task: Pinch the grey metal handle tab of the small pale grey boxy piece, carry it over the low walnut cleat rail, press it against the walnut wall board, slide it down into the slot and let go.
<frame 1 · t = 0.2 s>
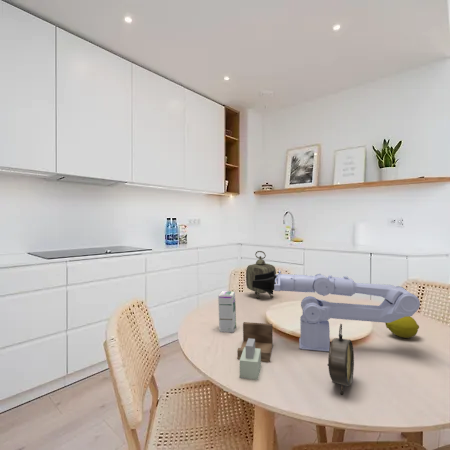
hand: (253, 280, 102), 22 cm above the table, tool horizontal, fingers open, 7 cm apart
alarm clock: (340, 385, 76), on the table
pale grey boxy piece: (250, 371, 84), on the table
cleat board: (257, 344, 100), on the table
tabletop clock: (260, 297, 156), on the table
lemon: (401, 337, 105), on the table
syrup box: (227, 329, 114), on the table
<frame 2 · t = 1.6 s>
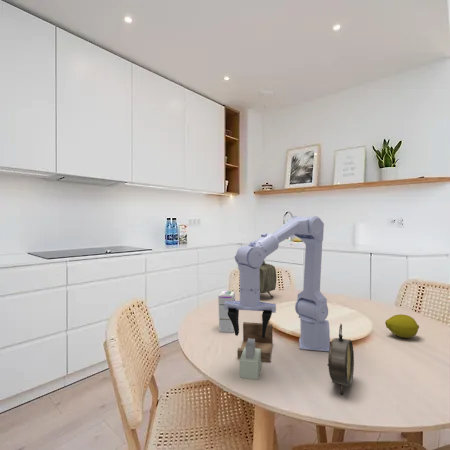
hand: (250, 335, 83), 10 cm above the table, tool pointing down, fingers open, 7 cm apart
nothing on the table moved.
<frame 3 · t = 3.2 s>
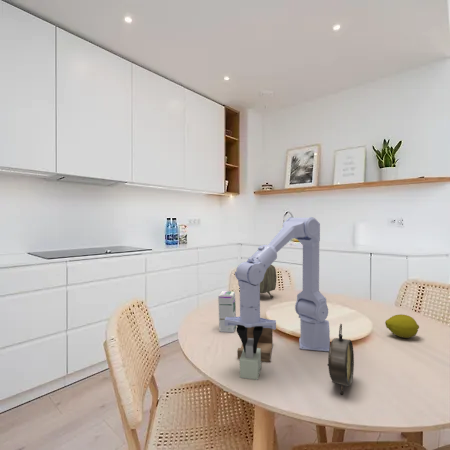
hand: (250, 351, 84), 6 cm above the table, tool pointing down, fingers closed on pale grey boxy piece
pale grey boxy piece: (250, 370, 84), on the table, touching gripper
everything else where it was.
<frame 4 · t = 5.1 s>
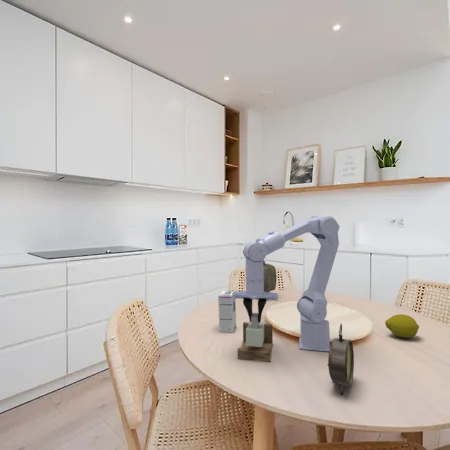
hand: (255, 321, 94), 10 cm above the table, tool pointing down, fingers closed on pale grey boxy piece
pale grey boxy piece: (255, 341, 94), point 4 cm above the table, touching gripper
everything else where it was.
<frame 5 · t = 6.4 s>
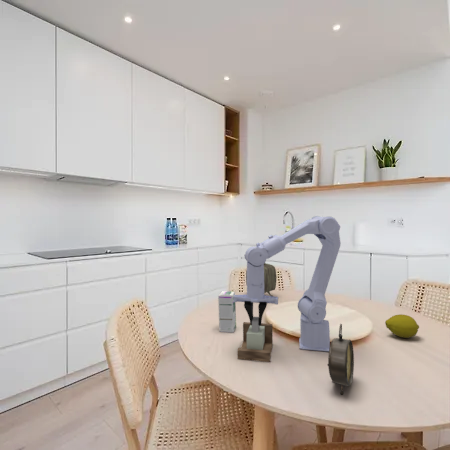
hand: (255, 324, 96), 9 cm above the table, tool pointing down, fingers closed on pale grey boxy piece
pale grey boxy piece: (256, 344, 96), point 2 cm above the table, touching gripper
everything else where it was.
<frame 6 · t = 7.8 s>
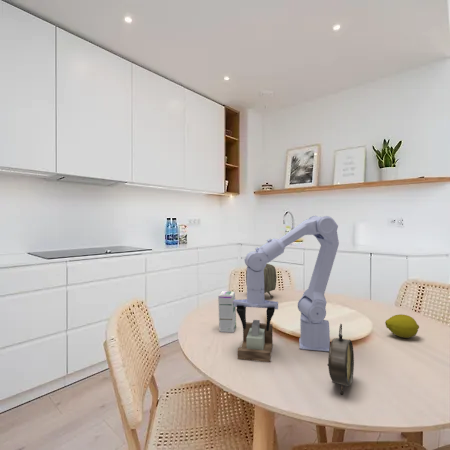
hand: (256, 328, 96), 7 cm above the table, tool pointing down, fingers open, 7 cm apart
pale grey boxy piece: (256, 348, 96), point 1 cm above the table, touching cleat board
everything else where it was.
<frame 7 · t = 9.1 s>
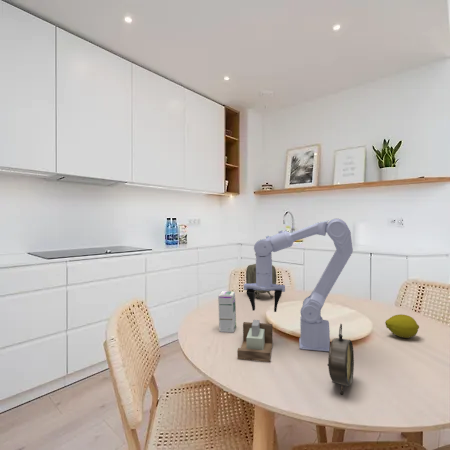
hand: (264, 310, 104), 10 cm above the table, tool pointing down, fingers open, 7 cm apart
nothing on the table moved.
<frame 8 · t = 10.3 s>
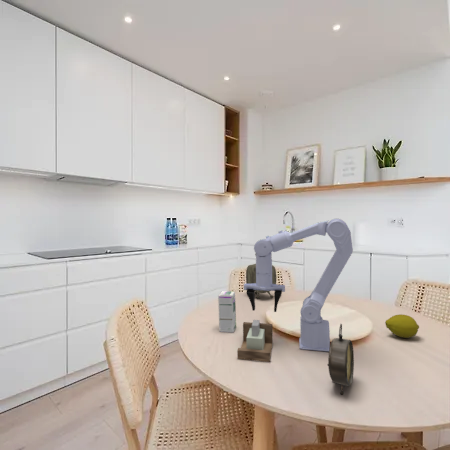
hand: (264, 310, 104), 10 cm above the table, tool pointing down, fingers open, 7 cm apart
nothing on the table moved.
at the end: pale grey boxy piece 0.2 cm from the target spot on the cleat board, point 0.8 cm above the cleat board's base; pale grey boxy piece tilted 0°; the gripper is holding nothing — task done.
